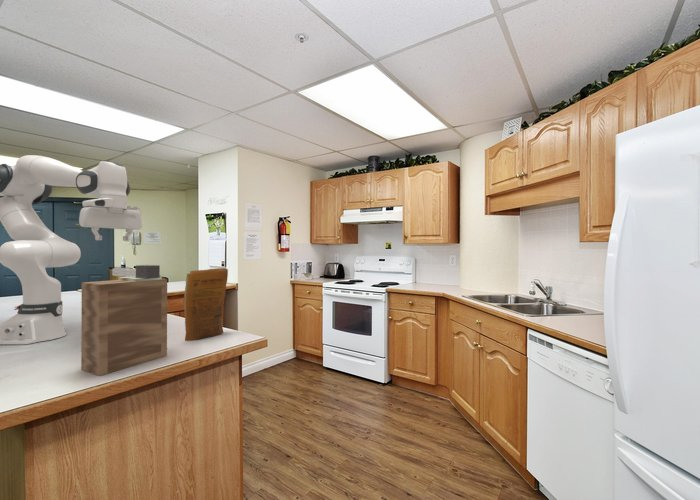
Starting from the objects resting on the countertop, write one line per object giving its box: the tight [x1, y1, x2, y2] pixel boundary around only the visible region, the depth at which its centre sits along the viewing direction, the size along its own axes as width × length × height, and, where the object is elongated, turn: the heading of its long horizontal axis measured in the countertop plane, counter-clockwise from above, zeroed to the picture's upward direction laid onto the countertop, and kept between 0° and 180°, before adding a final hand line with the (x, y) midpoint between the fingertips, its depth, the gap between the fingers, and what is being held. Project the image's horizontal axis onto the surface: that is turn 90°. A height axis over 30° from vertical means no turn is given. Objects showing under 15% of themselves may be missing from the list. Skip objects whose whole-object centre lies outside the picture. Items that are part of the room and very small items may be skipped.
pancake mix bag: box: [183, 267, 229, 341], centre depth 132 cm, size 7×19×28 cm, turn 142°
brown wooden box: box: [80, 276, 168, 377], centre depth 103 cm, size 10×20×27 cm, turn 153°
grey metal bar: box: [111, 264, 161, 279], centre depth 108 cm, size 21×4×4 cm, turn 63°
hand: (112, 240), depth 123 cm, fingers open, 8 cm apart
